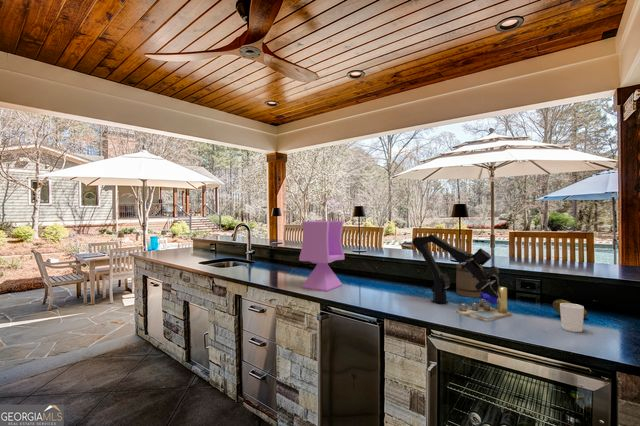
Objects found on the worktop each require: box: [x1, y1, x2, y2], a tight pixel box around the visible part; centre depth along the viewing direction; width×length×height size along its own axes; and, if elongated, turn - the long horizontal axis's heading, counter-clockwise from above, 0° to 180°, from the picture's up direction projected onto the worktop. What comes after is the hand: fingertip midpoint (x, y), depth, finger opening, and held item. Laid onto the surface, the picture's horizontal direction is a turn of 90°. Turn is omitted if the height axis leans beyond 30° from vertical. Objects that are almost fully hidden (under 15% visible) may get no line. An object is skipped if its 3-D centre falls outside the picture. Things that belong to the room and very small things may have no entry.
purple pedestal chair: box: [298, 220, 346, 293], centre depth 213 cm, size 22×22×45 cm
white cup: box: [560, 302, 585, 333], centre depth 131 cm, size 8×8×10 cm
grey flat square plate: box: [472, 311, 498, 319], centre depth 146 cm, size 8×8×1 cm
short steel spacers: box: [459, 298, 491, 312], centre depth 156 cm, size 8×18×4 cm, turn 118°
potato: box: [552, 298, 588, 319], centre depth 146 cm, size 8×13×8 cm, turn 54°
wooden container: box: [455, 259, 484, 298], centre depth 191 cm, size 15×15×22 cm
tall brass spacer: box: [496, 286, 508, 314], centre depth 151 cm, size 4×4×12 cm
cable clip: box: [480, 291, 498, 305], centre depth 177 cm, size 12×4×6 cm, turn 170°
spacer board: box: [455, 305, 513, 323], centre depth 152 cm, size 16×20×1 cm
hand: (500, 296), depth 152 cm, fingers open, 9 cm apart
